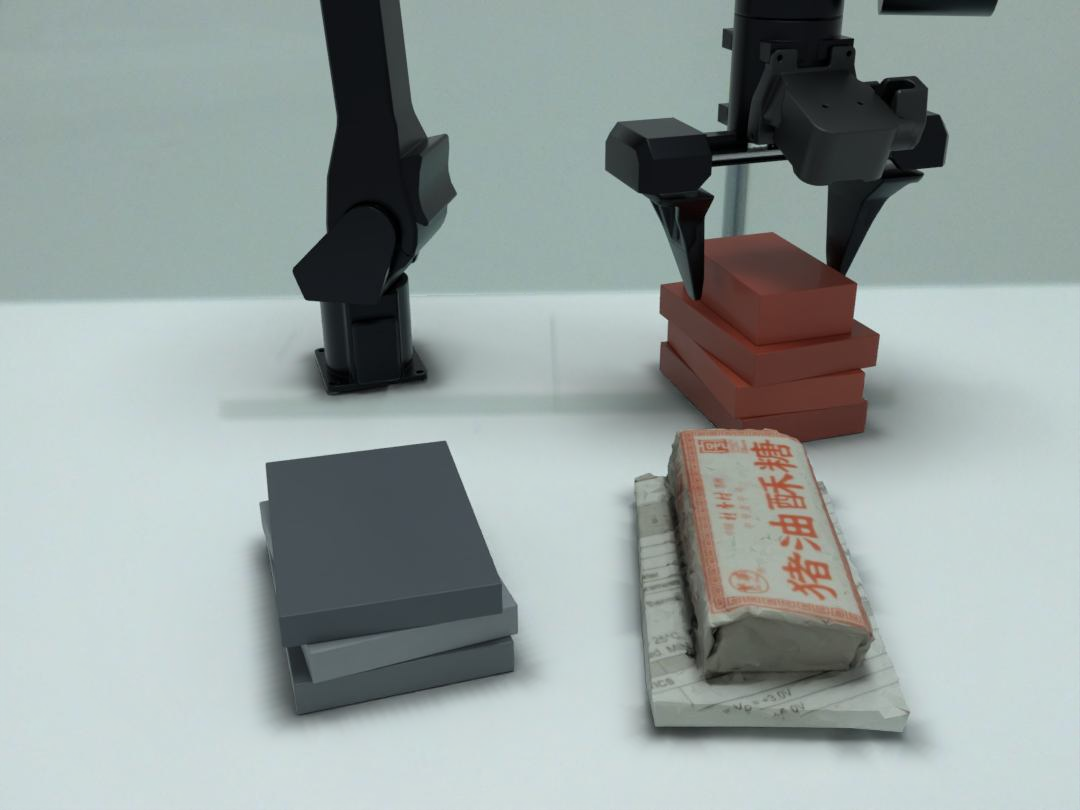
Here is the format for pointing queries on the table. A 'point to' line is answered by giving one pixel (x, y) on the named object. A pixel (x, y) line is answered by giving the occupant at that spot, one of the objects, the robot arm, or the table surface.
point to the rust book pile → (765, 373)
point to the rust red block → (775, 289)
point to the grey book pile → (382, 576)
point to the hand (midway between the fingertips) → (765, 289)
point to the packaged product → (754, 593)
